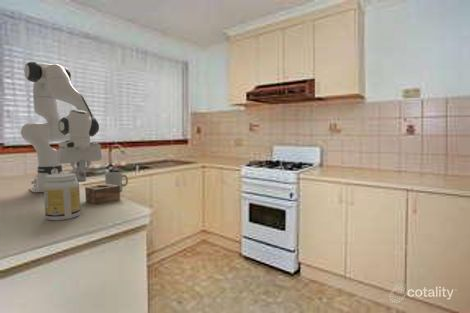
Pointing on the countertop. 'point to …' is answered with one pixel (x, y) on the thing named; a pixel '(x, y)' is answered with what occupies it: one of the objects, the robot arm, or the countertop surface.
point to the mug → (115, 179)
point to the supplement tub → (61, 196)
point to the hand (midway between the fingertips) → (81, 171)
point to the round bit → (81, 171)
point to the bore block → (102, 193)
